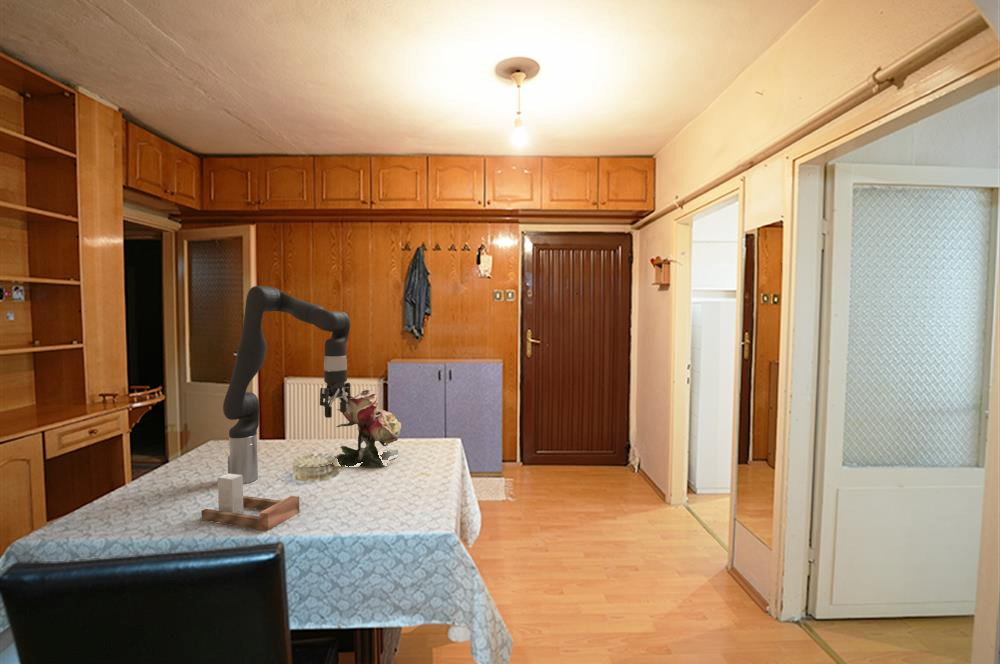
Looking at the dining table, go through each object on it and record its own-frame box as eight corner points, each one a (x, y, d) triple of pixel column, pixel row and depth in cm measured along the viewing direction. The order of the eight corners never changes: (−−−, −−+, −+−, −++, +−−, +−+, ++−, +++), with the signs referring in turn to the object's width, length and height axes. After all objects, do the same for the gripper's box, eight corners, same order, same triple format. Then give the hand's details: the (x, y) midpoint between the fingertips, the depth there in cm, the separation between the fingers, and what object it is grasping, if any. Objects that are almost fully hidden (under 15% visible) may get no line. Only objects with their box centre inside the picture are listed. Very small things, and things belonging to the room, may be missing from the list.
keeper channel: (201, 520, 142) (201, 504, 141) (236, 503, 154) (236, 488, 154) (268, 530, 135) (268, 513, 134) (299, 512, 147) (299, 496, 147)
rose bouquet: (397, 468, 190) (396, 395, 188) (326, 468, 190) (325, 395, 189) (410, 449, 215) (409, 385, 214) (347, 449, 216) (346, 386, 214)
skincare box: (244, 512, 148) (243, 474, 147) (232, 517, 143) (231, 479, 143) (229, 509, 149) (228, 472, 149) (217, 514, 145) (216, 477, 145)
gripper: (338, 366, 169) (338, 410, 169) (312, 370, 155) (313, 418, 156) (356, 366, 167) (356, 411, 167) (332, 371, 153) (332, 420, 154)
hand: (335, 414), depth 161 cm, fingers open, 8 cm apart
